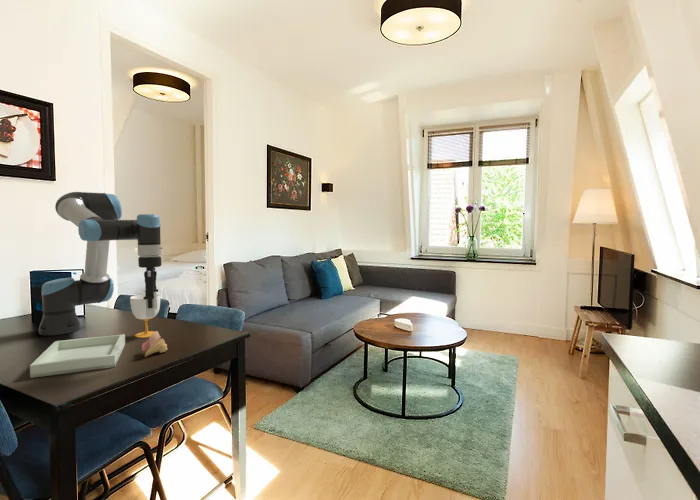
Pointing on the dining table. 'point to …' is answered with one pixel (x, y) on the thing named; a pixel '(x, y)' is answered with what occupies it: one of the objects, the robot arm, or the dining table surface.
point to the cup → (142, 312)
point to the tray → (78, 355)
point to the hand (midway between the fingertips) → (152, 313)
